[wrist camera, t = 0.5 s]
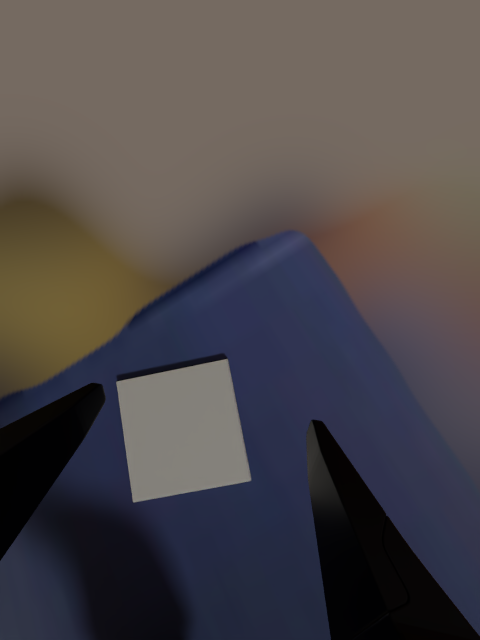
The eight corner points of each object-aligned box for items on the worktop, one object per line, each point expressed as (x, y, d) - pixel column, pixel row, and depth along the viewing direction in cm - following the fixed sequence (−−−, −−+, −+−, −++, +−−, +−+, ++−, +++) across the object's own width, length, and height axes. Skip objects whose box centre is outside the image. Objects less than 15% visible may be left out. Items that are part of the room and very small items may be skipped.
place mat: (251, 477, 23) (251, 480, 23) (136, 498, 24) (133, 502, 23) (227, 358, 25) (227, 359, 24) (119, 380, 25) (116, 381, 24)
